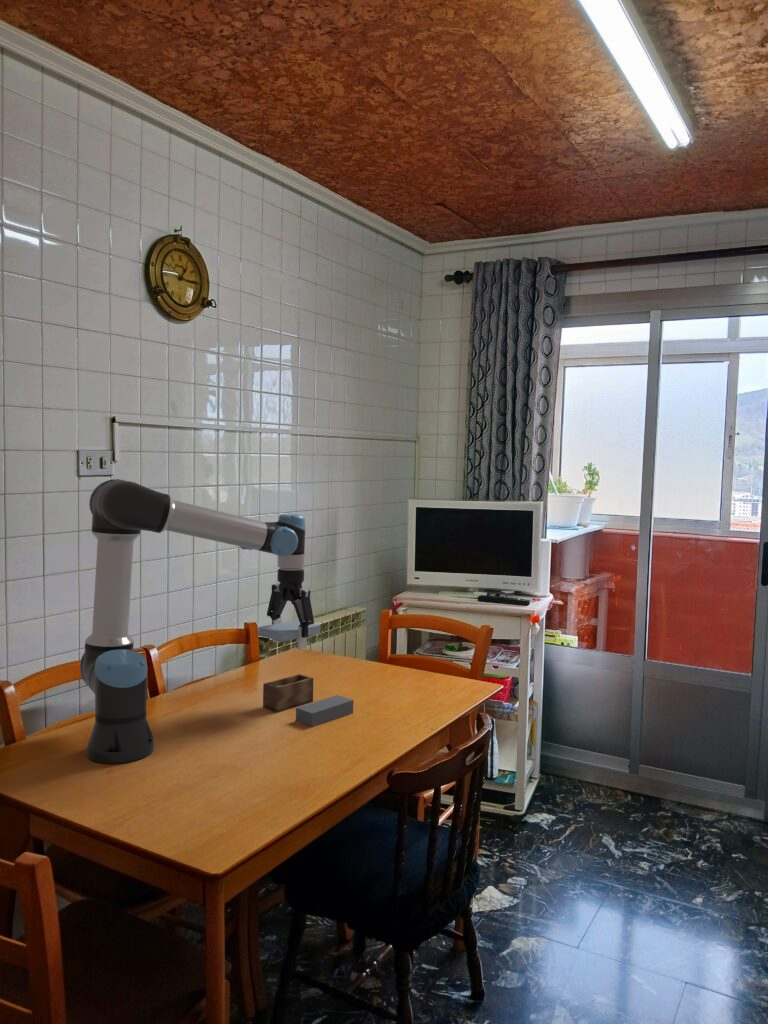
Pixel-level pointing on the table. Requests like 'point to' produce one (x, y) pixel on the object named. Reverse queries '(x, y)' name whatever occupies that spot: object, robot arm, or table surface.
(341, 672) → the table surface
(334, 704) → the block
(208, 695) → the table surface
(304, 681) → the box
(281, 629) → the lid
